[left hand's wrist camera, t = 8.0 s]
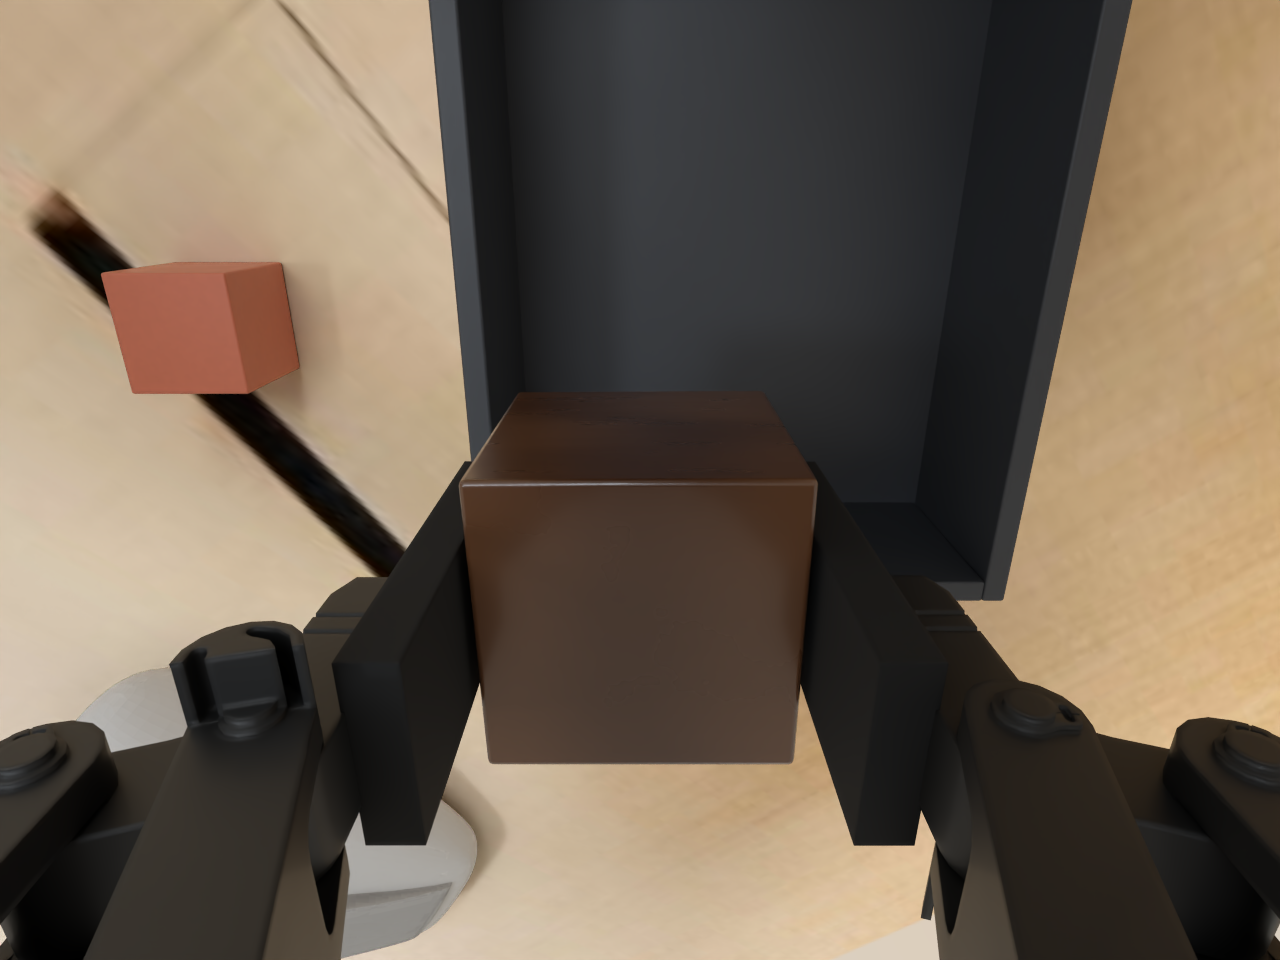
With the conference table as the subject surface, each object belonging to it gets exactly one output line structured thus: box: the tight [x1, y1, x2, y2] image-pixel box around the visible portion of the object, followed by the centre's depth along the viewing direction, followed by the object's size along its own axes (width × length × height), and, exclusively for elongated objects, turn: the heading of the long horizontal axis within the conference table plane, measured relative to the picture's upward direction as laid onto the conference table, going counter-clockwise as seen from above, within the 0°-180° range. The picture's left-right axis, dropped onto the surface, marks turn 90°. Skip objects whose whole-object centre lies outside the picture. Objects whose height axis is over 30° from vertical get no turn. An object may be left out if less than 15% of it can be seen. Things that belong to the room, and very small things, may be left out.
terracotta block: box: [101, 262, 299, 394], centre depth 32 cm, size 5×5×5 cm
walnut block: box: [459, 391, 818, 764], centre depth 13 cm, size 5×5×5 cm
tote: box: [429, 0, 1132, 601], centre depth 15 cm, size 14×22×13 cm, turn 0°
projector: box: [76, 668, 477, 958], centre depth 38 cm, size 22×23×15 cm
